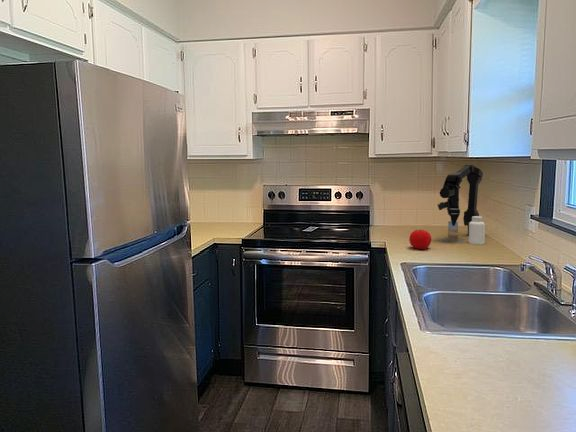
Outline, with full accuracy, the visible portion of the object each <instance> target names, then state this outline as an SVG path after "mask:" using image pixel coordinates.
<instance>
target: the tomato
mask: <svg viewBox="0 0 576 432" xmlns="http://www.w3.org/2000/svg"><path fill="white" fill-rule="evenodd" d="M408 239H409V240H408V241H409V244H410V245H411V247H412V248H414V249H418V250H426V249H428V248H429V246H430V245H431V243H432V235H431V233H429V232H428V231H427V230H425V229H414V230H413V231H412V232H411V233H410V235H409V238H408Z"/></svg>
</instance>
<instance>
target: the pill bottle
mask: <svg viewBox="0 0 576 432" xmlns="http://www.w3.org/2000/svg"><path fill="white" fill-rule="evenodd" d="M485 226H486V224H485V221H483V216H480V215H479V216H472V221H471V222H470V223H469V236H468V243H469V244H471V245H484V244H485V243H486V242H485V239H486V238H485V234H486V233H485V232H486V231H485V229H486V227H485Z"/></svg>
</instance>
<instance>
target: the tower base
mask: <svg viewBox="0 0 576 432" xmlns="http://www.w3.org/2000/svg"><path fill="white" fill-rule="evenodd" d="M458 236H459V234H458V235H448V234H447V239H448V241H458V239H459V237H458Z"/></svg>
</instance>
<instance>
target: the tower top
mask: <svg viewBox="0 0 576 432" xmlns="http://www.w3.org/2000/svg"><path fill="white" fill-rule="evenodd" d="M448 235H458V236H459V228H458V229H448V228H447V236H448Z"/></svg>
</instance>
